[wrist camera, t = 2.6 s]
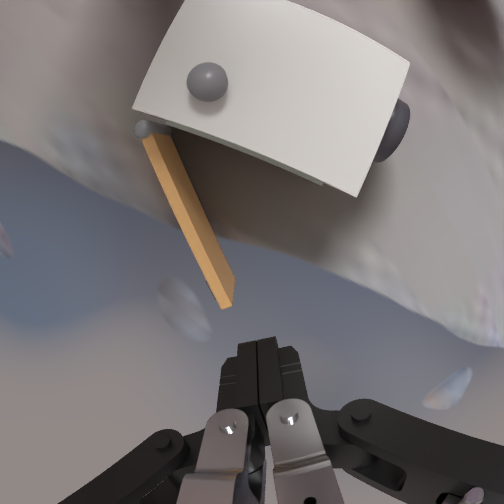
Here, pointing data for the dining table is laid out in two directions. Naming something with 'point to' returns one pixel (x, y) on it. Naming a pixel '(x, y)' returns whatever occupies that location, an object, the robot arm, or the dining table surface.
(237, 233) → the dining table surface
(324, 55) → the camera body
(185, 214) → the tan wooden plank
